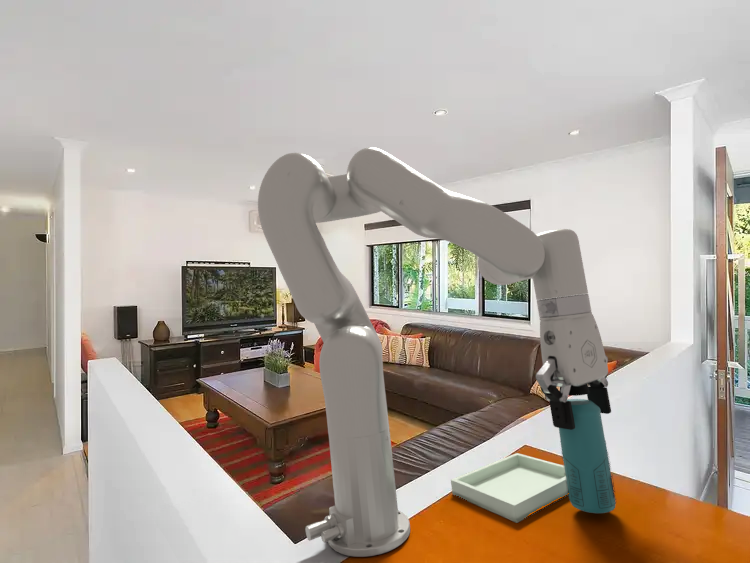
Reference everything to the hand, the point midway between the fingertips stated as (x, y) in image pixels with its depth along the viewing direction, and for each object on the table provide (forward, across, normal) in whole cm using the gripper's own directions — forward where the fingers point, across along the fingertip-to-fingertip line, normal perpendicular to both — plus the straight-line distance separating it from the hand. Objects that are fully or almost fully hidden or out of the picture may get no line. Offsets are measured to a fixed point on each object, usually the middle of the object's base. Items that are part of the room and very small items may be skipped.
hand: (583, 419), depth 62 cm
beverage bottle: (+14, -1, 0) cm, 14 cm away
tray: (+14, -2, +14) cm, 19 cm away
